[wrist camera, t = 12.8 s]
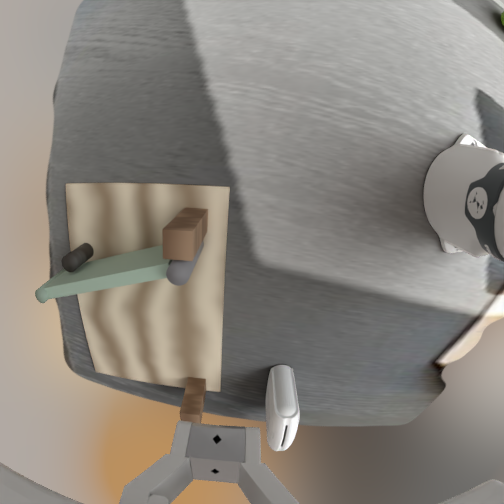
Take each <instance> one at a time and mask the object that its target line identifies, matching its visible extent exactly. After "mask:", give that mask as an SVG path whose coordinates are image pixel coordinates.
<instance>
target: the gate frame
mask: <svg viewBox="0 0 504 504" xmlns="http://www.w3.org/2000/svg"><path fill="white" fill-rule="evenodd" d="M229 192H230V187H223V186H206V185H186V184H158V183H67V184H66V203H67V219H68V230H69V241H70V249H71V252H70V253H69V254H67V255H66V256H64V257H63V259H62V265H63V267H64V269H65V270H66V271H67V272H74V271H75V270H76V269H77V268H79V267H80V266H81V265H82V264H83V263H86V262H90V261H94V260H98V259H103V258H107V257H111V256H116V255H120V254H124V253H129V252H133V251H137V250H142V249H146V248H151V247H155V246H160V245H163V259H172V260H184V261H193V259H194V257H195V255H196V253H197V251H198V249H199V247H200V245H201V243H202V241H203V242H204V247H203V250H202V252H201V254H200V256H199V258H198V260H197V263H196V265H195V267H194V269H193V271H192V273H191V276H190V278H189V280H188V282H187V283H186V284H184V285H181V286H177V285H174V284H172V283H171V282H170V281H169V280H168V279H167V278H164V279H158V280H153V281H147V282H142V283H136V284H131V285H125V286H120V287H114V288H109V289H103V290H98V291H92V292H86V293H81V294H77V295H78V301H79V306H80V311H81V316H82V320H83V325H84V329H85V333H86V337H87V341H88V345H89V349H90V353H91V356H92V360H93V363H94V367H95V370H96V372H99V373H103V374H108V375H112V376H117V377H122V378H127V379H132V380H137V381H143V382H148V383H154V384H160V385H167V386H174V387H181V388H186V389H185V393H184V397H183V401H182V406H181V410H180V418H181V421H187V422H193V423H201V418H202V412H203V406H204V400H205V394H206V391H216V392H220V391H221V356H222V327H223V302H224V280H225V259H226V241H227V223H228V207H229Z"/></svg>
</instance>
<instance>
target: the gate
mask: <svg viewBox="0 0 504 504" xmlns="http://www.w3.org/2000/svg"><path fill="white" fill-rule="evenodd" d="M203 247H204V242H203V241H202V243H201V245H200V247H199V249H198V251H197V253H196V255H195V257H194V259H193V261H184V260H172V259H163V245H160V246H155V247H151V248H146V249H142V250H137V251H133V252H129V253H124V254H120V255H116V256H111V257H107V258H103V259H98V260H94V261H90V262H86V263H83V264H82V265H81V266H80V267H79V268H77V269H76V270H75V271H74V272H67V271H66V270H65V269H63V270H61V271H60V272H59V273H57V274H56V275H55V276H54V277H52V278H51V279H50V280H49V281H47V282H46V283H45V284H44V285H42V286H41V287H40V288H39V289H38V290H36V292H35V296H36V298H37V300H38V301H39V302H41V303H45V302H46V301H47V300H48V299H52V298H58V297H64V296H69V295H75V294H81V293H86V292H92V291H98V290H103V289H109V288H114V287H120V286H125V285H131V284H136V283H142V282H147V281H153V280H158V279H164V278H167V279H168V280H169V281H170V282H171V283H172V284H174V285H177V286H181V285H184V284H186V283H187V282H188V280H189V278H190V276H191V273H192V271H193V269H194V267H195V265H196V263H197V260H198V258H199V256H200V254H201V252H202V250H203Z"/></svg>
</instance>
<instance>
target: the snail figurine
mask: <svg viewBox="0 0 504 504" xmlns="http://www.w3.org/2000/svg"><path fill="white" fill-rule="evenodd" d="M501 22H502V25H503V27H504V12H503V13H502V14H501Z"/></svg>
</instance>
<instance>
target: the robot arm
mask: <svg viewBox="0 0 504 504" xmlns="http://www.w3.org/2000/svg"><path fill="white" fill-rule="evenodd" d="M471 144H472V145H471ZM423 197H424V208H425V212H426V215H427V218H428V220H429V222H430V224H431V226H432V227H433V229H434V230H435V231H436V232H437V234H438V235H439V237H440V241H441V245H442V248H443V250H444V251H445V252H447V253H449V254H452V253H458V252H466V253H468V254H470V255H472V256H474V257H477V258H479V257H480V256H485V255H488V254H491V256H493V257H494V258H496V259H498V260H500V261H503V262H504V153H502V152H498V151H497V150H495V149H490V148H487V147H486V146H484V145H483V144H482V143H480V142H479V141H477V140H476V139H475V138H473V137H472V136H470V135H467V134H462V135H461V136H460V137H459V138H458V140H457V141H456V143H455V144H454V145H453V146H452V147H450V148H448V149H446V150H445V151H443V152H442V153H440V154H439V155H438V156H437V157H436V159H435V160H434V161H433V163H432V164H431V166H430V168H429V171H428V173H427V176H426V180H425V184H424V196H423ZM193 479H197V480H208V481H219V482H229V483H238V485H239V487H240V488H241V490H242V491H243V493H244V494H245V496H246V497H247V498H248V500H249V502H250V503H251V504H300V503H299V502H298V501H297V500H296V499H295V498H294V497H293V496H292V495H291V493H289V491H288V490H287V489H286V488H285V487H284V486H283V484H282V483H281V482H280V481H279V480H278V479H277V477H275V475H274V474H273V473H272V471H271V470H270V469H269V468H268V467H267V466H266V464H265V463H261V450H260V429H259V428H253V427H246V428H245V427H237V426H221V425H219V426H217V425H209V424H201V423H193V422H187V421H178V423H177V426H176V430H175V434H174V439H173V443H172V447H171V452H170V454H165V455H164V456H163V457H162V458H160V459H159V460H158V461H157V462H155V463H154V464H153V465H152V466H151V467H149V468H148V469H147V470H145V471H144V472H143V473H141V474H140V475H139V476H138V477H136V478H135V479H134V480H132V481H131V482H130V483H128V484H127V485H126V486H125V487H124V489H123V493H122V496H121V499H120V503H119V504H170V503H171V502H172V501H173V500H174V499H175V498H176V497H177V496H178V495H179V494H180V493H181V492H182V491H183V490H184V489H185V488H186V487H187V486H188V485H189V484H190V483H191V482H192V481H193ZM0 504H83V503H80V502H78V501H75V500H73V499H70V498H68V497H65V496H63V495H61V494H58V493H56V492H54V491H52V490H50V489H48V488H46V487H44V486H42V485H40V484H37V483H36V482H34V481H32V480H30V479H28V478H26V477H24V476H23V475H20V474H19V473H17V472H15V471H13V470H12V469H10V468H9V467H7V466H5V465H4V464H2V463H0ZM438 504H504V483H502V482H500V481H497V480H494V479H493V480H489V481H487V482H485V483H483V484H481V485H479V486H477V487H474V488H472V489H470V490H468V491H466V492H464V493H462V494H459V495H457V496H455V497H453V498H450V499H448V500H445V501H443V502H440V503H438Z"/></svg>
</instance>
